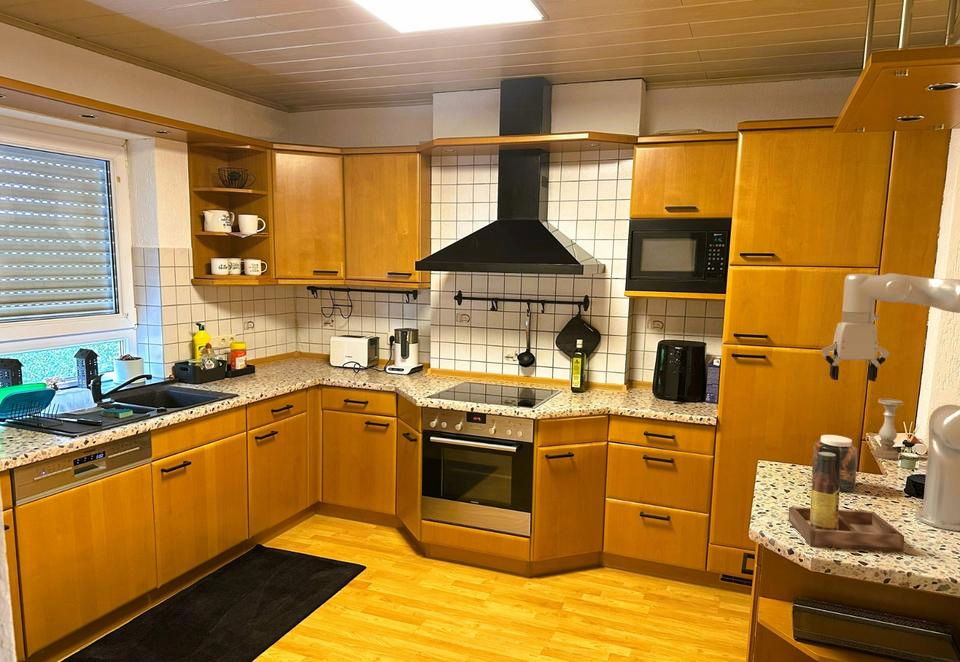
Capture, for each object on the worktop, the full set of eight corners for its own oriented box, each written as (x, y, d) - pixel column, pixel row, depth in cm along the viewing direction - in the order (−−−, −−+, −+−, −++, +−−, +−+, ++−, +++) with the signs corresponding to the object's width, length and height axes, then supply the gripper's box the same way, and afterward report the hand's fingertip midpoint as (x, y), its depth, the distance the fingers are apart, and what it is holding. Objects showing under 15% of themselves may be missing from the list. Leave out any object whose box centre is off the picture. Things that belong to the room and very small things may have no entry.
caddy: (872, 526, 166) (873, 511, 165) (902, 552, 151) (904, 536, 150) (788, 521, 168) (789, 506, 168) (809, 546, 153) (811, 530, 153)
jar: (813, 488, 193) (816, 441, 191) (809, 477, 203) (812, 431, 202) (857, 494, 188) (861, 445, 187) (851, 482, 199) (855, 435, 197)
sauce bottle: (840, 536, 156) (846, 459, 154) (813, 534, 158) (818, 457, 155) (831, 526, 163) (837, 451, 160) (805, 523, 164) (810, 449, 162)
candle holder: (867, 451, 232) (872, 397, 229) (894, 453, 230) (898, 398, 228) (877, 458, 223) (882, 402, 221) (905, 460, 221) (910, 404, 219)
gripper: (884, 318, 176) (879, 378, 178) (818, 316, 178) (814, 376, 180) (898, 320, 169) (893, 383, 171) (829, 319, 171) (825, 381, 173)
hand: (852, 380), depth 176 cm, fingers open, 9 cm apart
